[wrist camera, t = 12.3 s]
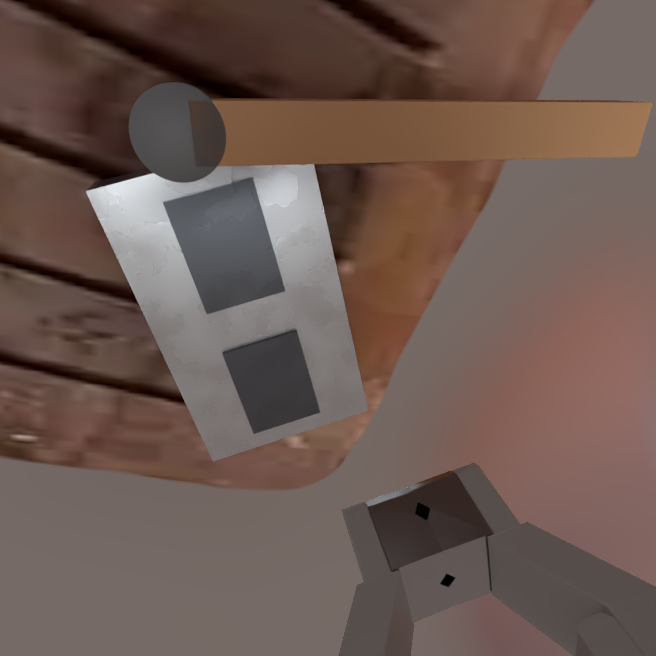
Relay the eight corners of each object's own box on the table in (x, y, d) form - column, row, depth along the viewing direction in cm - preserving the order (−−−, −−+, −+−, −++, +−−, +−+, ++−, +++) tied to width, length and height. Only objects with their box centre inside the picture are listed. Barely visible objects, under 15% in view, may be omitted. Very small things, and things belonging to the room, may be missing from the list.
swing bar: (144, 173, 21) (137, 184, 19) (129, 81, 19) (120, 81, 17) (598, 161, 26) (632, 169, 23) (618, 87, 24) (657, 88, 22)
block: (65, 116, 25) (24, 126, 19) (283, 61, 26) (305, 56, 20) (212, 438, 37) (213, 503, 31) (358, 391, 38) (385, 446, 32)
